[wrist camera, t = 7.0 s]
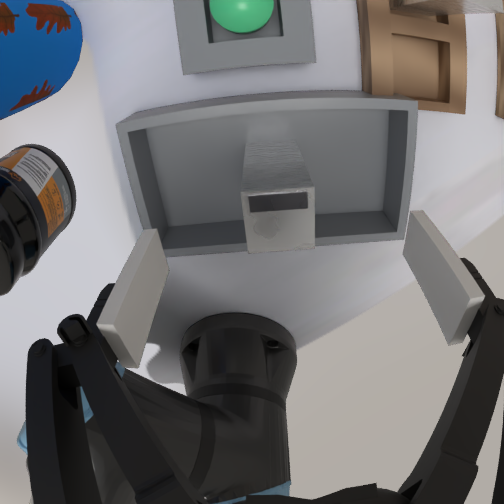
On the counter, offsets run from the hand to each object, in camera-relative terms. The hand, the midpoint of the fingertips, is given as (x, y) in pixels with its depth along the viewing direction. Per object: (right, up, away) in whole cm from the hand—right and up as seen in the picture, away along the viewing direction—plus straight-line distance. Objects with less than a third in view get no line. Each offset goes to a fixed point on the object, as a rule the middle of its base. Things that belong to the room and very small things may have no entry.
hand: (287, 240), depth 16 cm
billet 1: (0, +7, +10) cm, 12 cm away
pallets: (+19, +18, +3) cm, 26 cm away
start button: (-2, +17, +2) cm, 17 cm away
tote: (0, +7, +11) cm, 13 cm away
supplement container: (-24, +6, +12) cm, 28 cm away
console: (-2, +18, +4) cm, 18 cm away
